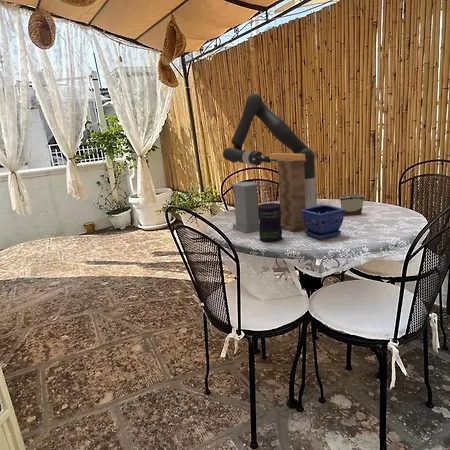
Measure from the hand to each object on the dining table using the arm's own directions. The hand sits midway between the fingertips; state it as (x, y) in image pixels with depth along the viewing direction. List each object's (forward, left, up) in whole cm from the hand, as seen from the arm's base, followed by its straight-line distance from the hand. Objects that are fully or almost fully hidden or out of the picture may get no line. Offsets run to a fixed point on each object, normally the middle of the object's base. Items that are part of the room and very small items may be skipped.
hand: (275, 160), depth 184 cm
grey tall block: (+19, +16, -30) cm, 39 cm away
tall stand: (-2, +23, -30) cm, 38 cm away
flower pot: (-11, +40, -30) cm, 51 cm away
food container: (-36, +10, -30) cm, 48 cm away
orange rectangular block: (-1, +20, +2) cm, 20 cm away
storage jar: (+11, +37, -30) cm, 49 cm away
